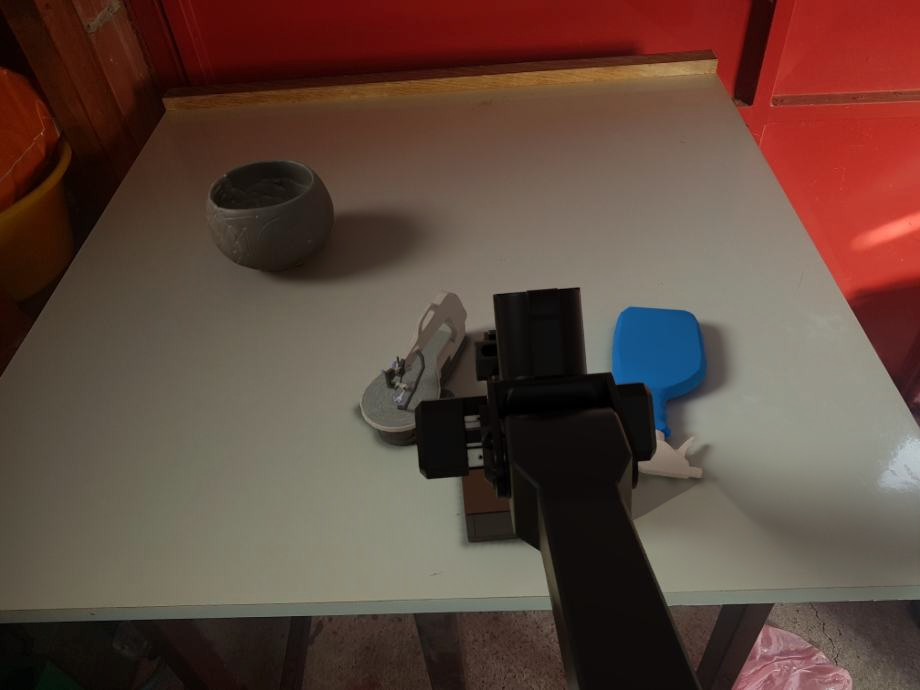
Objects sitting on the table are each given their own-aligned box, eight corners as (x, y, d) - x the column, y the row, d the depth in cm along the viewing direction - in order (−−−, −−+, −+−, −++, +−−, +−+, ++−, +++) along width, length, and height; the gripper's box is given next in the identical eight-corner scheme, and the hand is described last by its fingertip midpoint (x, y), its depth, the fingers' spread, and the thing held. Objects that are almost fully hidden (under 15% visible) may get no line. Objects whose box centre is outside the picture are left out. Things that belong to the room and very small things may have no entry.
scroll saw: (408, 262, 85) (495, 280, 81) (417, 326, 92) (498, 345, 88) (323, 373, 72) (422, 401, 68) (341, 437, 79) (432, 465, 75)
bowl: (211, 246, 109) (183, 174, 101) (318, 210, 115) (301, 139, 106) (241, 307, 98) (213, 232, 89) (359, 264, 103) (343, 190, 94)
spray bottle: (614, 303, 88) (608, 459, 71) (704, 308, 86) (719, 471, 69) (613, 320, 90) (605, 476, 73) (700, 326, 88) (713, 488, 71)
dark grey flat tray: (462, 463, 75) (459, 435, 72) (578, 453, 75) (580, 425, 72) (468, 542, 68) (465, 515, 65) (595, 531, 68) (598, 504, 65)
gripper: (667, 313, 48) (618, 324, 64) (400, 336, 48) (417, 341, 64) (682, 474, 48) (629, 445, 64) (413, 496, 48) (427, 462, 64)
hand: (525, 420), depth 64 cm, fingers closed on lid, 5 cm apart
